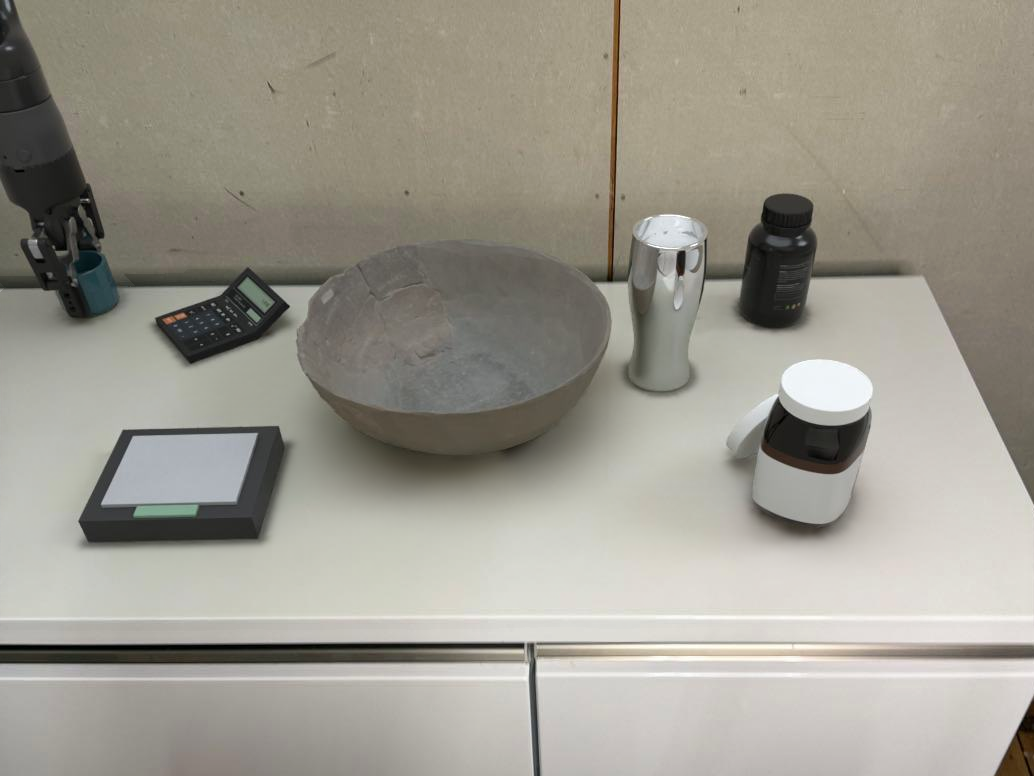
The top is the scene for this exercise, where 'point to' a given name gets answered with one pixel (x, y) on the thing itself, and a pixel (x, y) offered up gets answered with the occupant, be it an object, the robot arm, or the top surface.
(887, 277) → the top surface
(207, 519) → the kitchen scale
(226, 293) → the calculator
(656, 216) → the beer glass
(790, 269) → the supplement bottle
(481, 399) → the bowl
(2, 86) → the robot arm
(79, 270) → the teal cup
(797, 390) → the spread jar
